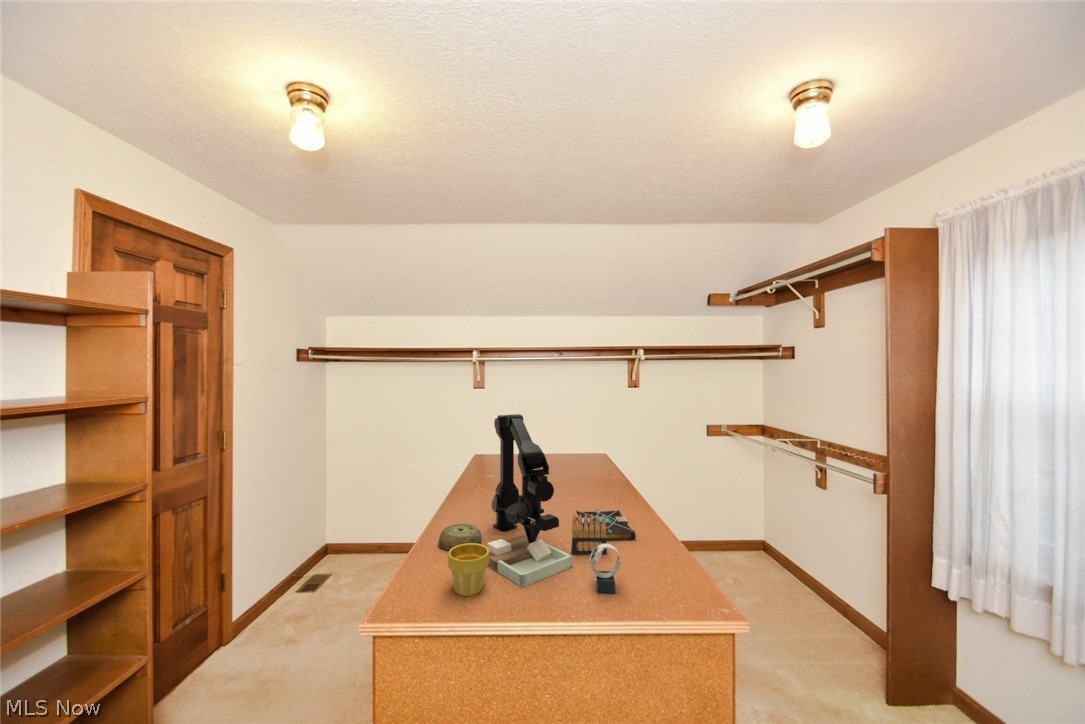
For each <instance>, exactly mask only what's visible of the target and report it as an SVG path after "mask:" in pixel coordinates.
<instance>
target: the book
mask: <svg viewBox="0 0 1085 724" xmlns="http://www.w3.org/2000/svg"><path fill="white" fill-rule="evenodd" d="M575 514H577V516H576V521H577V522H578V520H579V515H580V514H581V516H582V526H583V528H584V518H585V514H587V518H588V528H589V526H590V516H591V514H592V515H593V519H594V536H595V524H596V516H597V514H598V515H599V521H600V536H601V522H602V515H603V514H604V516H605V524H606V541H634V540H635V541H636V539H637V538H636V536H637V534H636V530H634V529H632V528H631V527H630V526H629V525H628V524H629V522H628V520H627V518H626V517H625V516H623V515H622V513H621V512H620V509H619V508H618V509H617V510H607V511H600V509H599V508H597V509H596V510H595V511H579V510H576V511H575Z"/></svg>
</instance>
